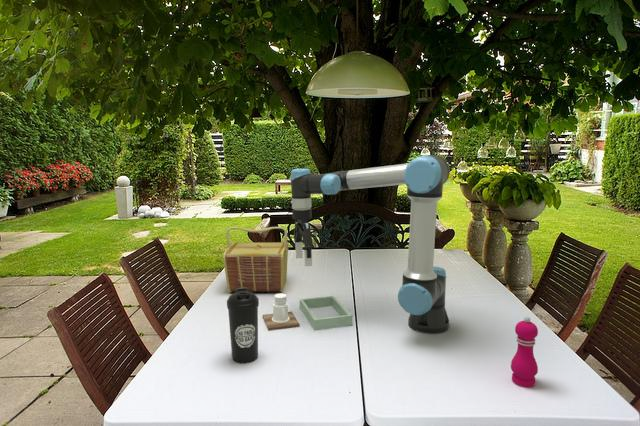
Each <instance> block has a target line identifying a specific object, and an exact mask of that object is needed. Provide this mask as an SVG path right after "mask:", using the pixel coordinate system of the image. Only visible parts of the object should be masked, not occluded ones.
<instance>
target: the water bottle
mask: <svg viewBox="0 0 640 426" xmlns="http://www.w3.org/2000/svg"><path fill="white" fill-rule="evenodd" d="M259 304H260V303H259V297H258V296H257V295H256V294H255V292H249V291H248V289H247V287H241V288H236V292H233V293H232V294H231V295H229V296H228V298H227V300H226V308H227V310H228V322H229V333H230V334H229V335H230V336H229V337H230V347H231V360H232V361H233V362H235V363H237V364H249V363H252V362H254V361H257V359H258V357H259V318H258V317H259V316H258V315H259V310H258V309H259V306H260V305H259Z"/></svg>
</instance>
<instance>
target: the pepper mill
mask: <svg viewBox="0 0 640 426" xmlns="http://www.w3.org/2000/svg"><path fill="white" fill-rule="evenodd" d="M514 332H515V335H516V337H515V338H516V343H517V349H516V352H515V354H514V356H513V358H512V360H511V362H510V369H511V371H512V375H511V381H512V383H513V384H515V385H516V386H520V387H522V388H533V387H534V386H535V385H536V377H535V376H536V375H537V374H538V373H539V367H538V363H537V361H536V358H535V355H534V346H535V345H536V338H537V336H538V334H539V329H538V327H537V325H536V324H535V323H534V322H532V321H531V318H530V316H524V318H523V320H521V321H519V322H517V323H516V324H515V328H514Z"/></svg>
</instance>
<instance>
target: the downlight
mask: <svg viewBox="0 0 640 426" xmlns="http://www.w3.org/2000/svg"><path fill="white" fill-rule="evenodd" d="M272 312H273V313H272V314H273V317H272V321H273V322H276V323H284V322H287V321H289V320H290V318H289V317H288V312H289V303H288V302H287V294H286V293H283V292H280V293H276V294H274V302H273V304H272Z"/></svg>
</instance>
